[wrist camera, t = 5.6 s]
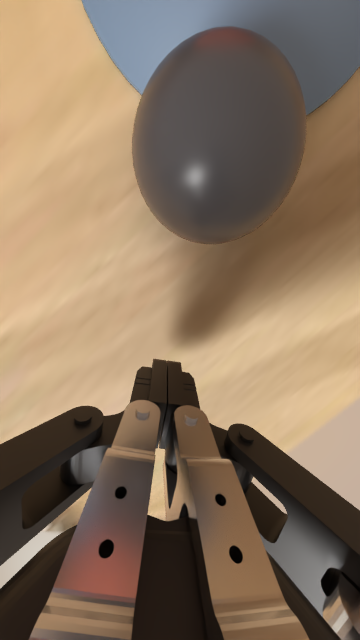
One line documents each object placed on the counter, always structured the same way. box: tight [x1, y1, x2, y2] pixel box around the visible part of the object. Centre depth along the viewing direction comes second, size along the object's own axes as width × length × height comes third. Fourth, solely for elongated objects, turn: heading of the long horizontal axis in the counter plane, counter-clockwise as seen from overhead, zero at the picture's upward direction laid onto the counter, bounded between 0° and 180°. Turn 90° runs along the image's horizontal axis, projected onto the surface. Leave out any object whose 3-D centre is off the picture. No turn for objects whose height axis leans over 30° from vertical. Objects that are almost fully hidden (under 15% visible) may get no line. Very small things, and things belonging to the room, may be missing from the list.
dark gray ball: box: [132, 26, 306, 244], centre depth 8 cm, size 6×6×6 cm
